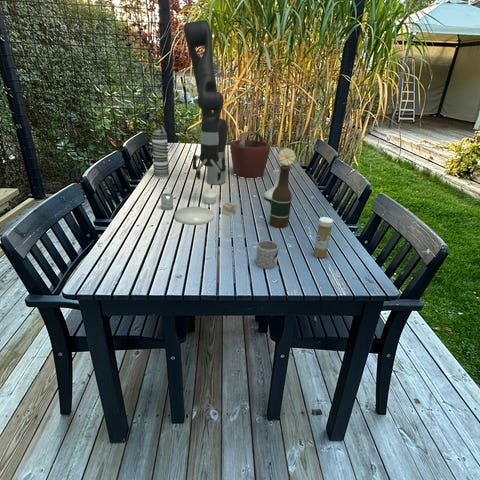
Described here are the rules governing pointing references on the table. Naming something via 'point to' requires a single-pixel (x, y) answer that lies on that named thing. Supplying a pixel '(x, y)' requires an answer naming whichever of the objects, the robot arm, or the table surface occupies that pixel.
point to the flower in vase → (285, 158)
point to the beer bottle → (281, 200)
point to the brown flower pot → (249, 156)
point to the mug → (267, 254)
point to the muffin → (209, 196)
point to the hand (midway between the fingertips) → (208, 179)
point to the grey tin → (166, 201)
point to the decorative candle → (160, 154)
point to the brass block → (229, 209)
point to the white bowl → (194, 215)
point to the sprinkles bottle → (323, 237)
